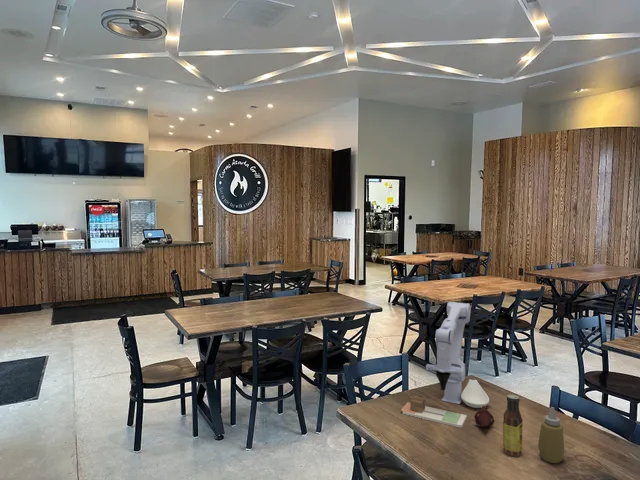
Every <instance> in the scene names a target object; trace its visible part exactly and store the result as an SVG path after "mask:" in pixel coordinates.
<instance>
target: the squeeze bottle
mask: <svg viewBox="0 0 640 480" xmlns="http://www.w3.org/2000/svg"><path fill="white" fill-rule="evenodd" d="M564 439H565V438H564V429H563V426H562V425H561V419H560V418H559V417H558V416H557V413H556V408H555V407H553V406H550V408H549V411H548V414H547V415H545V416H544V421H542V422H541V424H540V431H539V439H538V444H537V445H538V446H537V448H538V451H539V453H540V456H541V458H542V459H543V460H544V461H545V462H548V463H552V464H559V463H560V462H561V461H562V459H563V457H564V455H565V451H566V450H565V441H564Z"/></svg>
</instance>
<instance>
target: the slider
mask: <svg viewBox="0 0 640 480" xmlns="http://www.w3.org/2000/svg"><path fill="white" fill-rule="evenodd" d="M409 401H410V402H409V403H410V410H413V411H418V412H423V410H424V409H425V406H426V398H424V397H420V396H413V397H412V398H411V399H410V400H409Z"/></svg>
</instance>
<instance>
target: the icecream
mask: <svg viewBox="0 0 640 480" xmlns="http://www.w3.org/2000/svg"><path fill="white" fill-rule="evenodd" d="M487 409H488V408H487V405H486V406H482V408H481V409H479V410H478V411H477V412H475V414H474V420H475V423H476V424H477V425H478V426H479V427H480V428H483V429H484V428H486V429H489V428H491V427H492V426H493V425H494V423H495V418H494V416H493V414H492V413H491V412H490V411H489V410H487Z"/></svg>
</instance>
